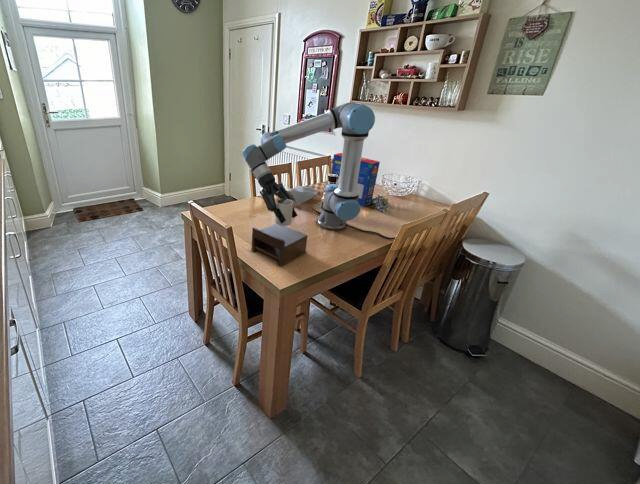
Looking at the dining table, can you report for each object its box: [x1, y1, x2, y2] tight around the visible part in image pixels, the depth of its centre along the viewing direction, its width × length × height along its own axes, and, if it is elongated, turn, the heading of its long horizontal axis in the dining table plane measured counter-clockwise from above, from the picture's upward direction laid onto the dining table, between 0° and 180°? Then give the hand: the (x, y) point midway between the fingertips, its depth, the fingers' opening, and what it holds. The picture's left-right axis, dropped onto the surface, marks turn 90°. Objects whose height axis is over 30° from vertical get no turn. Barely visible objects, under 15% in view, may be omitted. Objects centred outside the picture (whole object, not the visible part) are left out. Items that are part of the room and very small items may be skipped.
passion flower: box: [370, 193, 390, 213], centre depth 201 cm, size 11×11×12 cm
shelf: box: [251, 223, 308, 267], centre depth 151 cm, size 18×18×12 cm
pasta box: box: [330, 152, 381, 208], centre depth 213 cm, size 28×8×28 cm, turn 39°
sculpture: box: [286, 185, 322, 208], centre depth 213 cm, size 25×19×10 cm
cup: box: [274, 198, 294, 227], centre depth 147 cm, size 8×8×10 cm
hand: (289, 219), depth 145 cm, fingers closed on cup, 8 cm apart
